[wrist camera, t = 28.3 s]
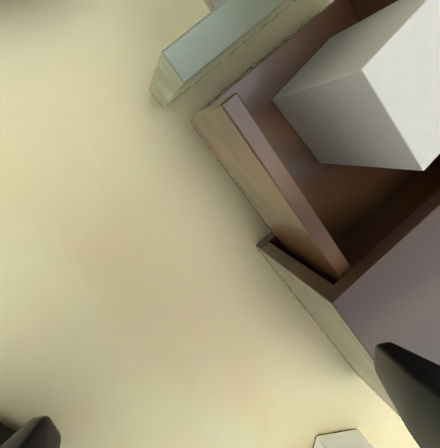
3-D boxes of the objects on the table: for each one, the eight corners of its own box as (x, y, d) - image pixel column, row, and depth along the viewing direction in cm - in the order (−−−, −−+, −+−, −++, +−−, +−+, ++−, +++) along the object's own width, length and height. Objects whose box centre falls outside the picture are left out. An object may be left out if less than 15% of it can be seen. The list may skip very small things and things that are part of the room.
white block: (319, 163, 19) (424, 171, 12) (270, 100, 17) (361, 69, 11) (373, 106, 19) (506, 83, 12) (330, 37, 17) (458, -34, 11)
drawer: (76, -5, 15) (35, -125, 8) (284, -165, 15) (393, -384, 9) (294, 279, 22) (362, 333, 16) (427, 160, 23) (543, 164, 16)
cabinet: (255, 245, 21) (331, 303, 13) (404, 114, 22) (559, 95, 14) (357, 374, 27) (452, 469, 19) (471, 267, 28) (608, 313, 20)
